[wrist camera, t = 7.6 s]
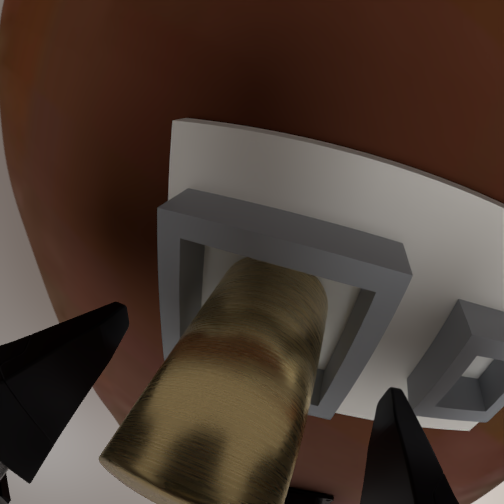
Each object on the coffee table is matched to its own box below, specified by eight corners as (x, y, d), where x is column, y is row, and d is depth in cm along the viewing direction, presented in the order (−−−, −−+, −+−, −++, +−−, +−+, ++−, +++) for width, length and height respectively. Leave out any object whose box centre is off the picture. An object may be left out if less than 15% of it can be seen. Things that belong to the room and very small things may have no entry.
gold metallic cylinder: (311, 354, 12) (257, 539, 6) (217, 325, 13) (120, 485, 6) (342, 273, 10) (298, 522, 3) (225, 240, 11) (74, 429, 4)
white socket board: (467, 417, 13) (472, 458, 11) (179, 349, 16) (153, 388, 14) (585, 248, 7) (617, 283, 4) (186, 118, 10) (137, 127, 8)
